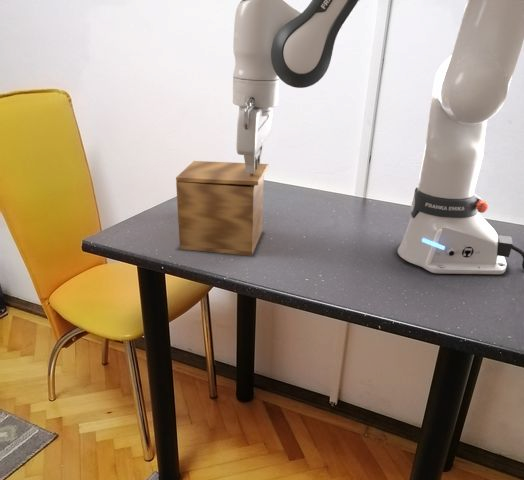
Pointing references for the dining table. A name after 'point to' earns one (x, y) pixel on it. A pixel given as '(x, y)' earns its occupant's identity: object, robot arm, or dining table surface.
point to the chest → (219, 216)
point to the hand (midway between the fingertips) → (253, 168)
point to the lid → (222, 172)
